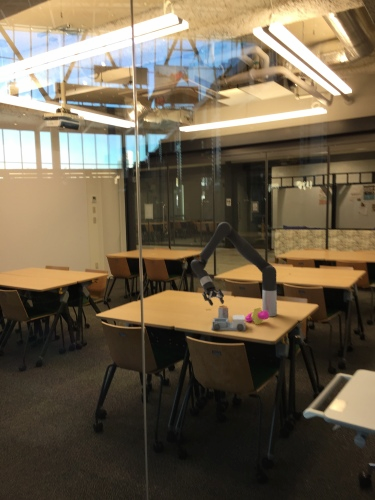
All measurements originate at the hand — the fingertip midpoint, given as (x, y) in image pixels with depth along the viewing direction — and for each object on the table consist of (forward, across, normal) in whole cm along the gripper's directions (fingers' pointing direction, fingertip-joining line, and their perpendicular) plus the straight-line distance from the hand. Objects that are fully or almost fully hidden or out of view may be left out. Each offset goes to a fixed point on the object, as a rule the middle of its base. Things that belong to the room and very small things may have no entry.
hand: (217, 304), depth 266 cm
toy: (+22, +16, -7) cm, 28 cm away
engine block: (+12, 0, +3) cm, 12 cm away
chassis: (+20, -5, -6) cm, 22 cm away
